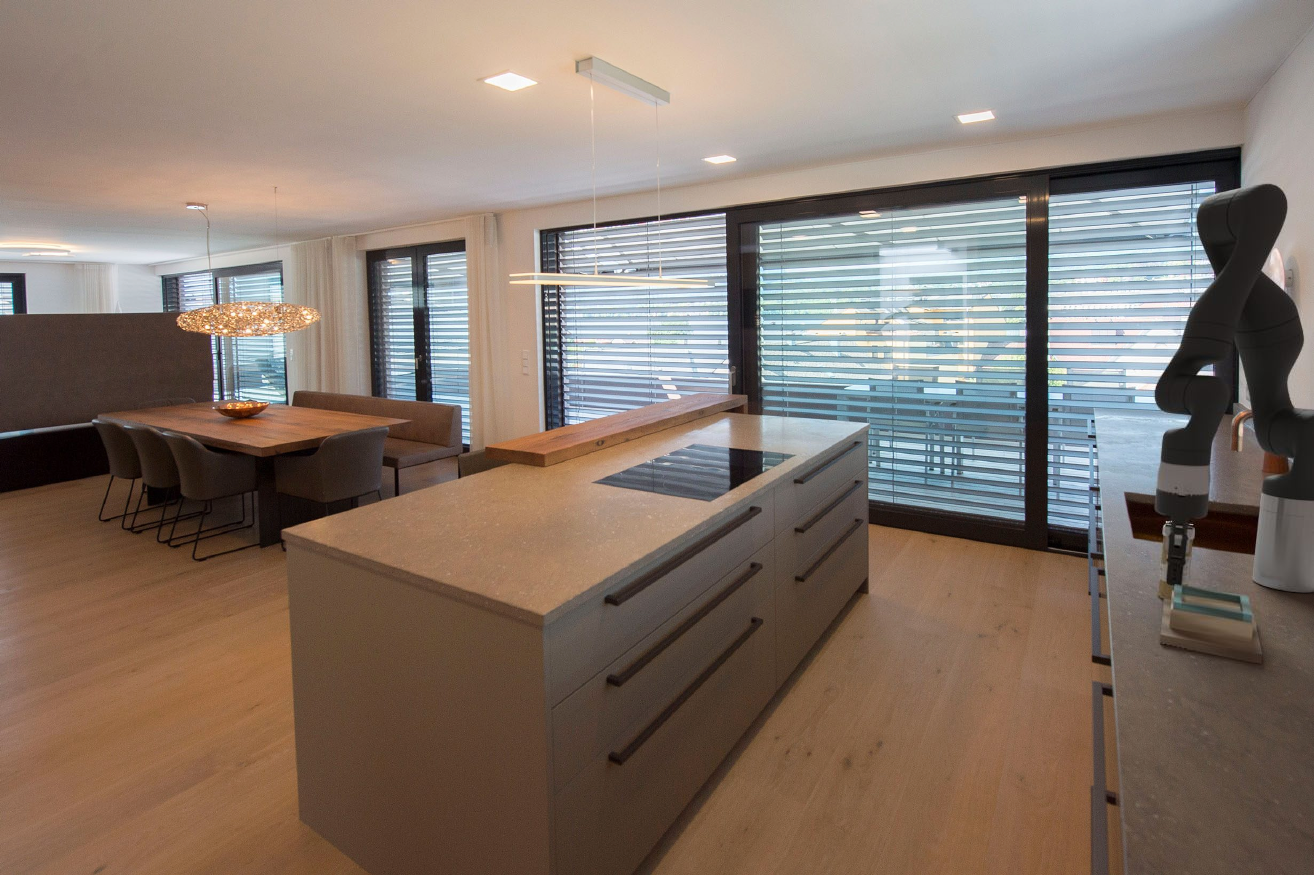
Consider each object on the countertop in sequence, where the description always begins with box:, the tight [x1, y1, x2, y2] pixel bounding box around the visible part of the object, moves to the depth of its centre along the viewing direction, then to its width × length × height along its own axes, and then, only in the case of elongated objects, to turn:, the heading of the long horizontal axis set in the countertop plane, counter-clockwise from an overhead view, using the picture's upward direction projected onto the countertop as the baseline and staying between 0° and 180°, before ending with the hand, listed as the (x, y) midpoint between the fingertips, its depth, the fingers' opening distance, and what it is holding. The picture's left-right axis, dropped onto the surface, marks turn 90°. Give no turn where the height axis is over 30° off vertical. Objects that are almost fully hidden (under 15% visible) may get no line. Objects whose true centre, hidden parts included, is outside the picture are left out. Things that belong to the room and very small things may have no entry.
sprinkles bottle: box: [1157, 523, 1196, 600], centre depth 126 cm, size 5×5×13 cm
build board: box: [1159, 584, 1263, 665], centre depth 113 cm, size 18×12×6 cm, turn 143°
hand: (1174, 580), depth 127 cm, fingers closed on sprinkles bottle, 4 cm apart
